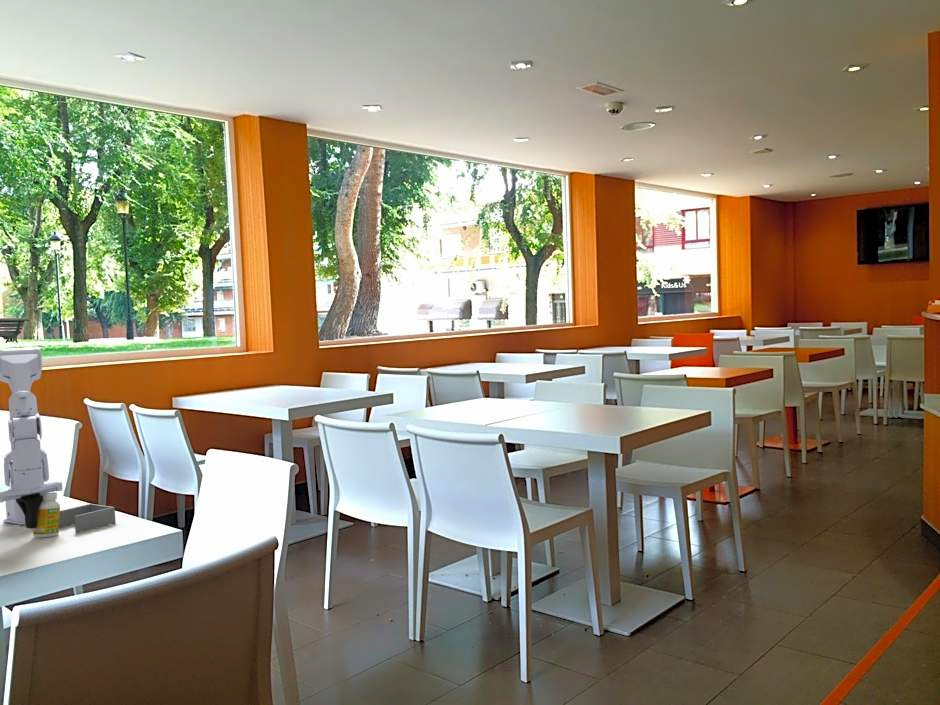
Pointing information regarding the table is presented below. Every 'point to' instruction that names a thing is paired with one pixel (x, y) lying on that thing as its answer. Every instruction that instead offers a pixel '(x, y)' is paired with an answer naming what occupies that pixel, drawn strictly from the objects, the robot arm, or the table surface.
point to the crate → (87, 517)
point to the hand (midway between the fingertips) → (31, 527)
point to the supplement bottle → (47, 516)
